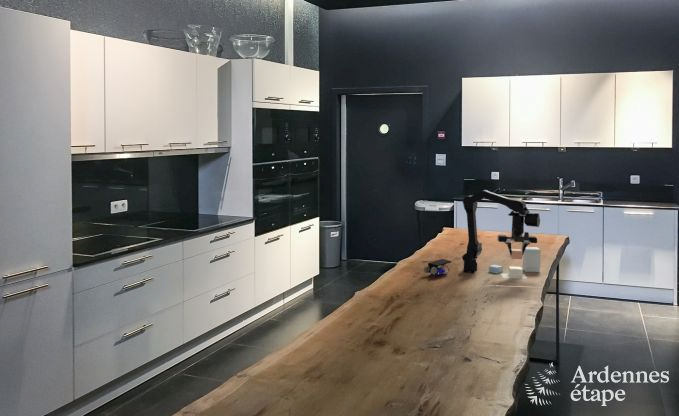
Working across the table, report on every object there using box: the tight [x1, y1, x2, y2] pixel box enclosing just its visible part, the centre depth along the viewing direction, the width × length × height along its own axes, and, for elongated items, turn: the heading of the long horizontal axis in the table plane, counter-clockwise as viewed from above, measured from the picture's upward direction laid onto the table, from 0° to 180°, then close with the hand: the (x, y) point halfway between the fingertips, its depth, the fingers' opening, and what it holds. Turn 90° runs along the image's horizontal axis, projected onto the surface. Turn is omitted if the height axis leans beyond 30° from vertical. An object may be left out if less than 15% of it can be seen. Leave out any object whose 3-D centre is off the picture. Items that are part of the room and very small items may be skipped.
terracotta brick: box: [509, 248, 523, 260], centre depth 336 cm, size 5×5×4 cm
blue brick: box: [488, 264, 503, 274], centre depth 345 cm, size 5×5×4 cm
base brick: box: [508, 265, 524, 277], centre depth 337 cm, size 6×6×4 cm
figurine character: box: [422, 258, 453, 278], centre depth 339 cm, size 7×8×15 cm
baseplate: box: [499, 272, 528, 280], centre depth 337 cm, size 12×10×1 cm
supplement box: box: [521, 246, 542, 273], centre depth 350 cm, size 7×7×13 cm
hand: (516, 255), depth 336 cm, fingers closed on terracotta brick, 5 cm apart
